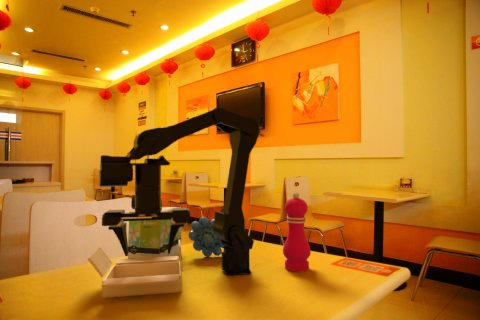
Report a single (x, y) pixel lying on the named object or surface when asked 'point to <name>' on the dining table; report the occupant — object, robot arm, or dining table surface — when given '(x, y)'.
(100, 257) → the flap
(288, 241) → the pepper mill
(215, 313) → the dining table surface
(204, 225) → the blue succulent rosette
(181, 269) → the flap
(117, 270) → the carton
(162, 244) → the tea box
